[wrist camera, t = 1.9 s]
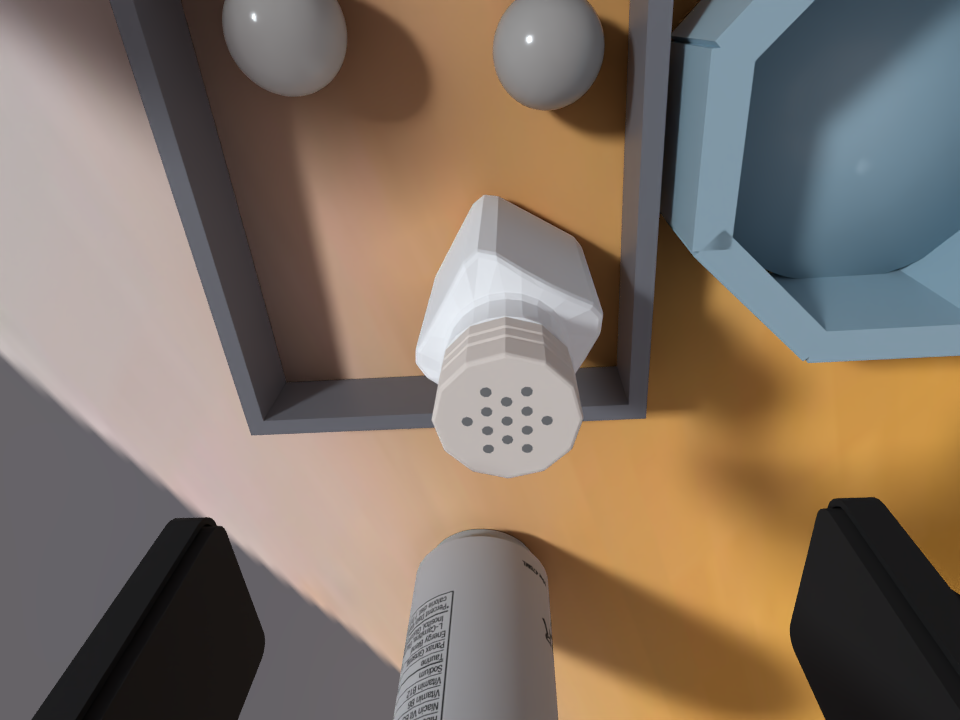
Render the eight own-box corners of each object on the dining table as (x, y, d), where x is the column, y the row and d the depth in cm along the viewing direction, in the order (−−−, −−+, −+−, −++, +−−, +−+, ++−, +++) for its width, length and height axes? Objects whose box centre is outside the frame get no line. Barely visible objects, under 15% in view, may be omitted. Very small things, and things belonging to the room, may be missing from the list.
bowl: (676, -116, 16) (731, -157, 12) (1175, -167, 15) (1405, -230, 11) (649, 306, 22) (681, 369, 18) (1006, 286, 21) (1119, 347, 17)
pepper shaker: (528, 331, 22) (541, 517, 14) (430, 283, 22) (383, 450, 13) (587, 239, 21) (641, 389, 12) (482, 182, 20) (465, 303, 11)
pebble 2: (490, -7, 17) (487, -11, 15) (597, -18, 17) (614, -23, 14) (496, 107, 19) (495, 122, 16) (596, 99, 18) (611, 113, 16)
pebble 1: (236, -29, 17) (183, -38, 14) (347, -40, 17) (315, -51, 14) (264, 94, 19) (222, 108, 16) (366, 85, 18) (342, 98, 16)
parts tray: (129, -104, 16) (69, -123, 14) (659, -162, 15) (686, -194, 13) (275, 395, 24) (251, 435, 22) (632, 379, 23) (646, 418, 21)
